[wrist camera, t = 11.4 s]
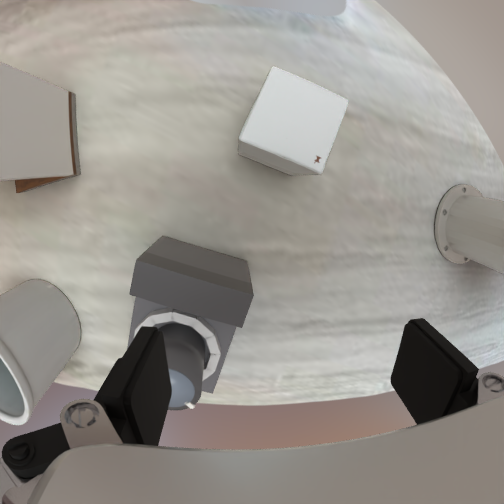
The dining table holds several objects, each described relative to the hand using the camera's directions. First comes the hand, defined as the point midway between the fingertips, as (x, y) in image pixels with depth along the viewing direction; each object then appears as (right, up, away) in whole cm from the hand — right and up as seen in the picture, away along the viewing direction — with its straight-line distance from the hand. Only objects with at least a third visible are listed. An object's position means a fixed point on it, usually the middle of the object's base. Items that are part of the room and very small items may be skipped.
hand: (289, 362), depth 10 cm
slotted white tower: (-30, +19, +21) cm, 41 cm away
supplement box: (+1, +18, +24) cm, 30 cm away
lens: (-9, -6, +21) cm, 23 cm away
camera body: (-10, -3, +28) cm, 30 cm away
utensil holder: (-34, -6, +27) cm, 44 cm away
